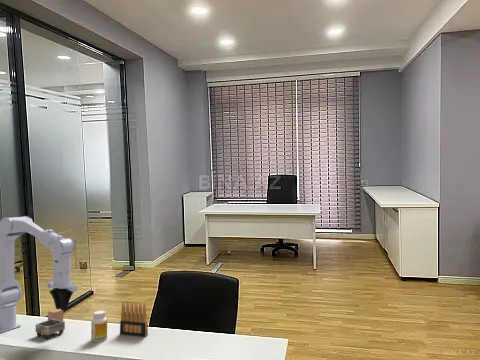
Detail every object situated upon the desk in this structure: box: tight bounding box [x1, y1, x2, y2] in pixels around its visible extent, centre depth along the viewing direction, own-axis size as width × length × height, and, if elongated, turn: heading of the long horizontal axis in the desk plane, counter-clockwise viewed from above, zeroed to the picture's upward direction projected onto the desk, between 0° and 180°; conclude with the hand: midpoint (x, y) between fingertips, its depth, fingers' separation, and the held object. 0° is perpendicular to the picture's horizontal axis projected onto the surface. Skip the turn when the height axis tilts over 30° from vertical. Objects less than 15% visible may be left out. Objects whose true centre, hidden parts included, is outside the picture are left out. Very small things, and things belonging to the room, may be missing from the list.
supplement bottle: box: [90, 310, 108, 343], centre depth 137 cm, size 5×5×10 cm
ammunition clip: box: [119, 301, 149, 338], centre depth 142 cm, size 11×2×12 cm, turn 76°
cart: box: [35, 319, 66, 339], centre depth 142 cm, size 7×7×4 cm
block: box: [47, 308, 64, 321], centre depth 152 cm, size 4×4×6 cm
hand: (61, 309), depth 139 cm, fingers open, 2 cm apart
